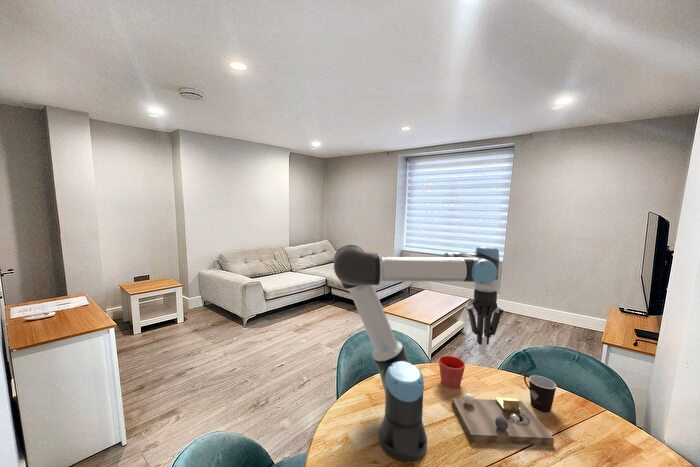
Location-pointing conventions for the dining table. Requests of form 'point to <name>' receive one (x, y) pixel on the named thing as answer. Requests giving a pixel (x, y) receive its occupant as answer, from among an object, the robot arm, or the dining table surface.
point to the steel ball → (514, 417)
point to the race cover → (508, 404)
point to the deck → (484, 429)
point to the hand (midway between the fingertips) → (482, 352)
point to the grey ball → (501, 423)
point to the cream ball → (469, 399)
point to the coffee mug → (541, 392)
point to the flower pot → (451, 371)
